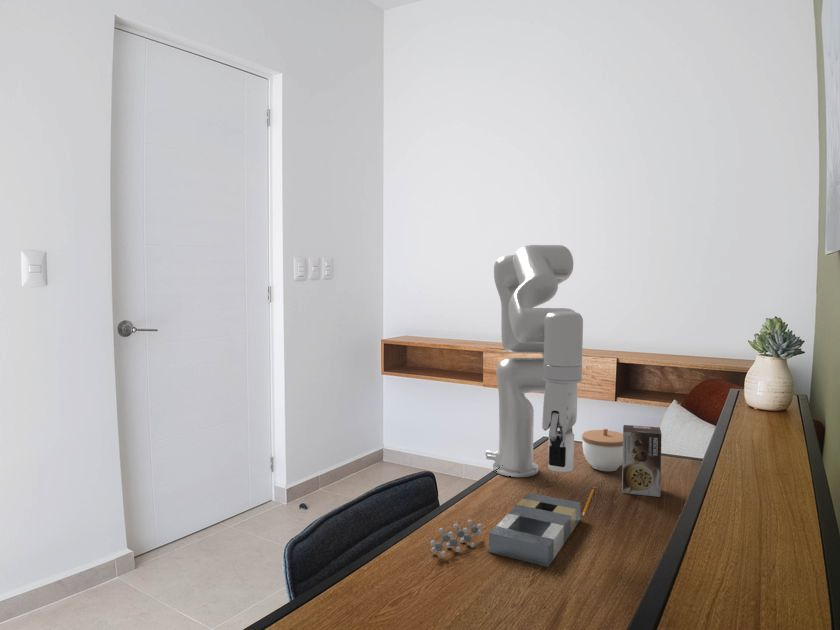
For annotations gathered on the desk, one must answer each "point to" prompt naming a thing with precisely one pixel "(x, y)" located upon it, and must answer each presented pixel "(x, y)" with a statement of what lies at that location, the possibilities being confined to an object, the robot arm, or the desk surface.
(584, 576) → the desk surface
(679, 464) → the desk surface
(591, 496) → the pencil
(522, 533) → the socket block
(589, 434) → the lidded bowl
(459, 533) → the molecular model
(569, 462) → the white capsule cylinder
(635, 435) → the coffee box
